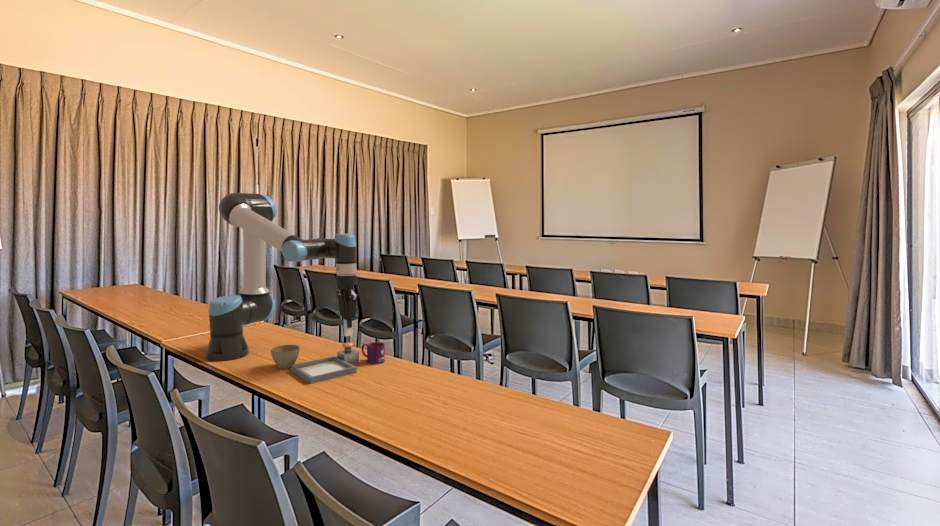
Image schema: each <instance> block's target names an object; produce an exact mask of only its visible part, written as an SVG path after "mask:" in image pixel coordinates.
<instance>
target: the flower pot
mask: <svg viewBox="0 0 940 526" xmlns="http://www.w3.org/2000/svg"><path fill="white" fill-rule="evenodd" d="M270 353H271V357H272V359H273V362H274V363H275V365H276V367H277V368H279V369H280V370H286V369H287V370H288V369H291V365H295V364H296V362H297V359H298V357H299V355H300V354H299V353H300V346H299V345H297V344H281V345H277V346H274V347H273V346H272V347H271V348H270Z"/></svg>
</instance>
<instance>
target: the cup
mask: <svg viewBox="0 0 940 526" xmlns="http://www.w3.org/2000/svg"><path fill="white" fill-rule="evenodd" d="M365 346H366V353H365V351H364V350H365V349H364V348H365ZM385 346H386V344H385V343H384V342H381V341H380V342H378V341H376V342H375V341H374V342H369V343H363V344H362V346H361V353H362V355H363V356H364V357H365V358H366V359H367V361H366V362H367V363H368V364H370V365H380V364H384V363H385V361H386V353H385V352H386V351H385V350H386V347H385Z"/></svg>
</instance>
